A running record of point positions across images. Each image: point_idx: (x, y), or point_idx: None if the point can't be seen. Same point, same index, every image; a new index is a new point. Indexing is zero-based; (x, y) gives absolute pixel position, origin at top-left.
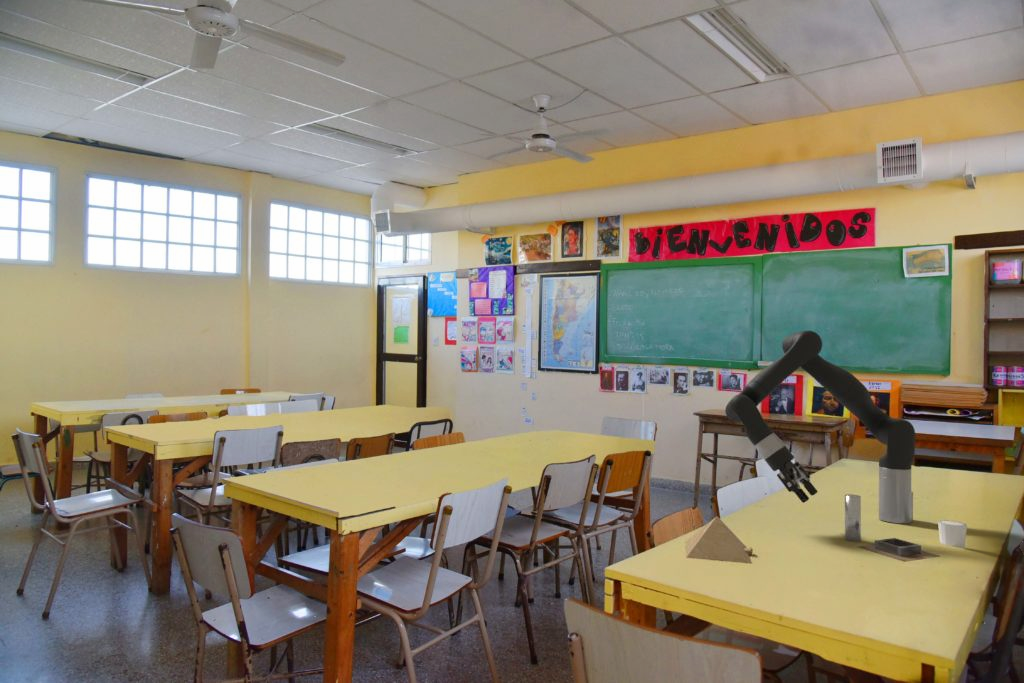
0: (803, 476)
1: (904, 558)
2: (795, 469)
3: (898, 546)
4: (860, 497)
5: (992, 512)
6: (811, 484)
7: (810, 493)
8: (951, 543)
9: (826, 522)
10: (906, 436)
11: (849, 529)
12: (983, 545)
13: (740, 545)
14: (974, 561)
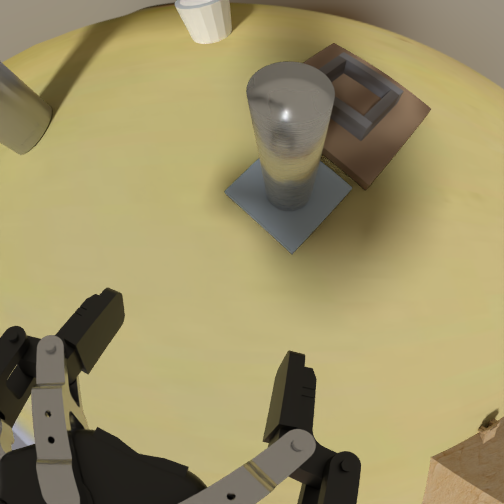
0: (66, 398)
1: (407, 101)
2: (86, 500)
3: (392, 92)
4: (297, 65)
5: (15, 61)
6: (85, 327)
7: (117, 328)
8: (229, 23)
9: (58, 258)
10: None
11: (313, 182)
12: (174, 14)
13: (502, 444)
14: (299, 18)
